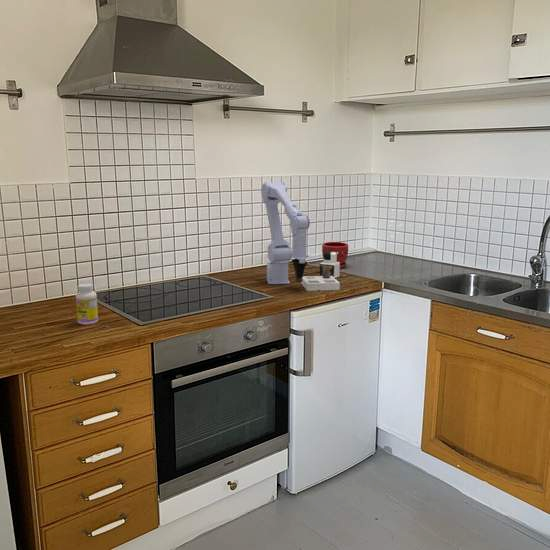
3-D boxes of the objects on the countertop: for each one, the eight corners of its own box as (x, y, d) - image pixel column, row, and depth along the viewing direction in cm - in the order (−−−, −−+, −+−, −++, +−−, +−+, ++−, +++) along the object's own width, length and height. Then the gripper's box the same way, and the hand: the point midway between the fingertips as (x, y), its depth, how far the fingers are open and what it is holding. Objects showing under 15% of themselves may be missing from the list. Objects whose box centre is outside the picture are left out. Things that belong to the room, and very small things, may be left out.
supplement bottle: (73, 322, 186) (70, 285, 183) (89, 318, 191) (87, 281, 189) (86, 326, 182) (83, 288, 180) (102, 321, 188) (100, 284, 185)
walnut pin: (295, 282, 231) (296, 266, 229) (294, 280, 234) (294, 264, 232) (302, 282, 231) (303, 265, 230) (301, 280, 234) (302, 264, 233)
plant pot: (316, 265, 284) (317, 242, 281) (339, 263, 289) (339, 241, 287) (330, 270, 272) (330, 246, 270) (352, 268, 278) (353, 244, 275)
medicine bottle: (319, 278, 255) (319, 252, 253) (325, 275, 261) (325, 250, 259) (333, 280, 252) (334, 253, 249) (339, 277, 258) (340, 251, 256)
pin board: (306, 290, 232) (307, 272, 230) (301, 283, 245) (301, 265, 243) (339, 290, 233) (340, 271, 232) (332, 282, 247) (332, 264, 245)
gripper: (312, 247, 223) (311, 280, 226) (305, 241, 237) (305, 273, 240) (294, 247, 222) (294, 281, 225) (289, 242, 236) (289, 273, 239)
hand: (298, 277), depth 232 cm, fingers closed on walnut pin, 3 cm apart
